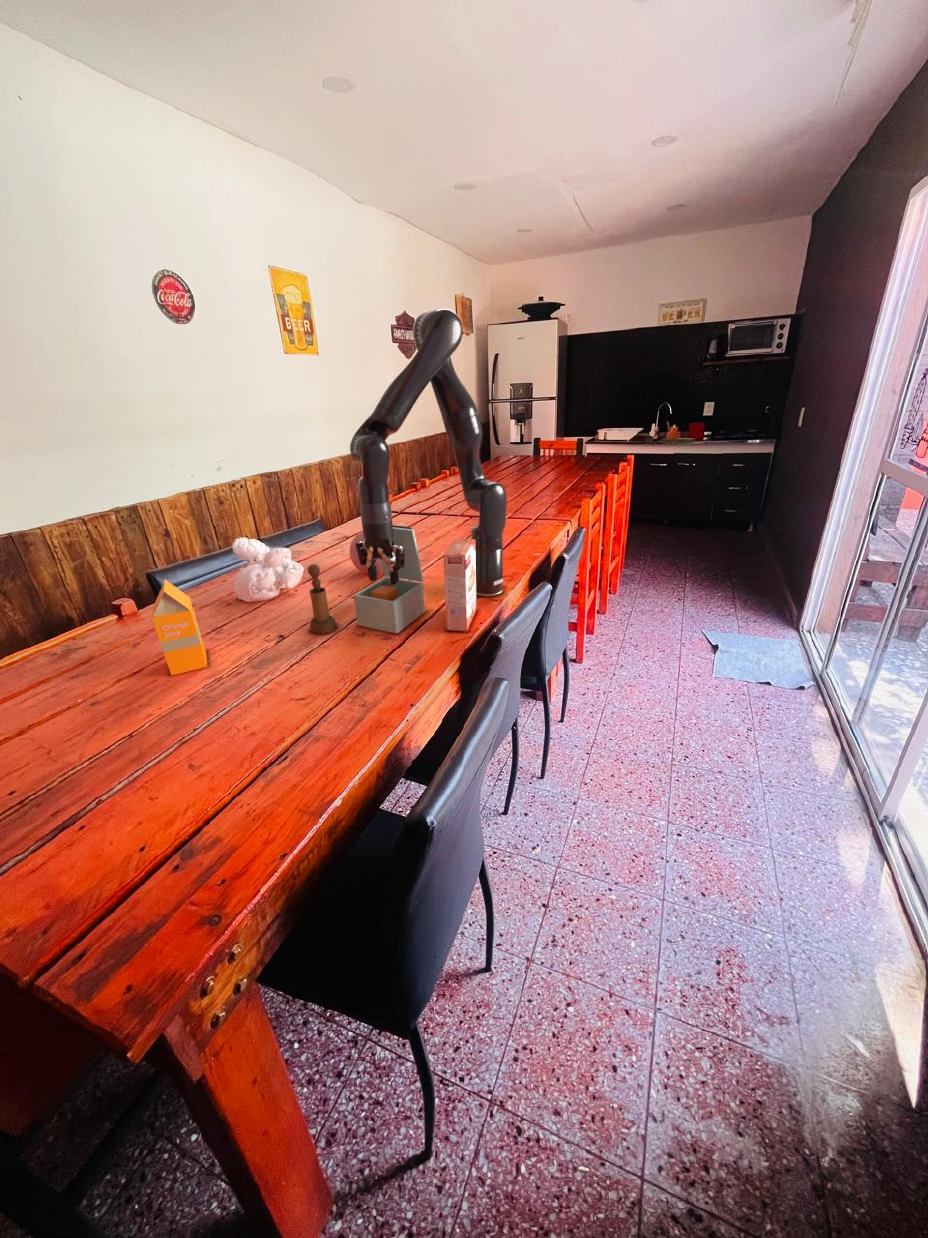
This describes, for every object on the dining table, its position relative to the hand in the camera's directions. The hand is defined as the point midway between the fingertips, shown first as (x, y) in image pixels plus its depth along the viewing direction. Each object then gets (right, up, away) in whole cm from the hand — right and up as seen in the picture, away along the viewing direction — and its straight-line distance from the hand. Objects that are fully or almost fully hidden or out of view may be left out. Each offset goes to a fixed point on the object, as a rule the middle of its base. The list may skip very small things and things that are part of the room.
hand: (383, 581), depth 129 cm
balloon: (-9, +7, +41) cm, 43 cm away
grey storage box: (+1, -10, +7) cm, 12 cm away
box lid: (+3, +8, +4) cm, 9 cm away
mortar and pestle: (-16, -13, +2) cm, 21 cm away
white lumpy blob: (-40, -1, +27) cm, 48 cm away
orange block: (0, -6, +3) cm, 6 cm away
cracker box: (+21, -10, +4) cm, 24 cm away
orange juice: (-45, -20, -12) cm, 50 cm away
